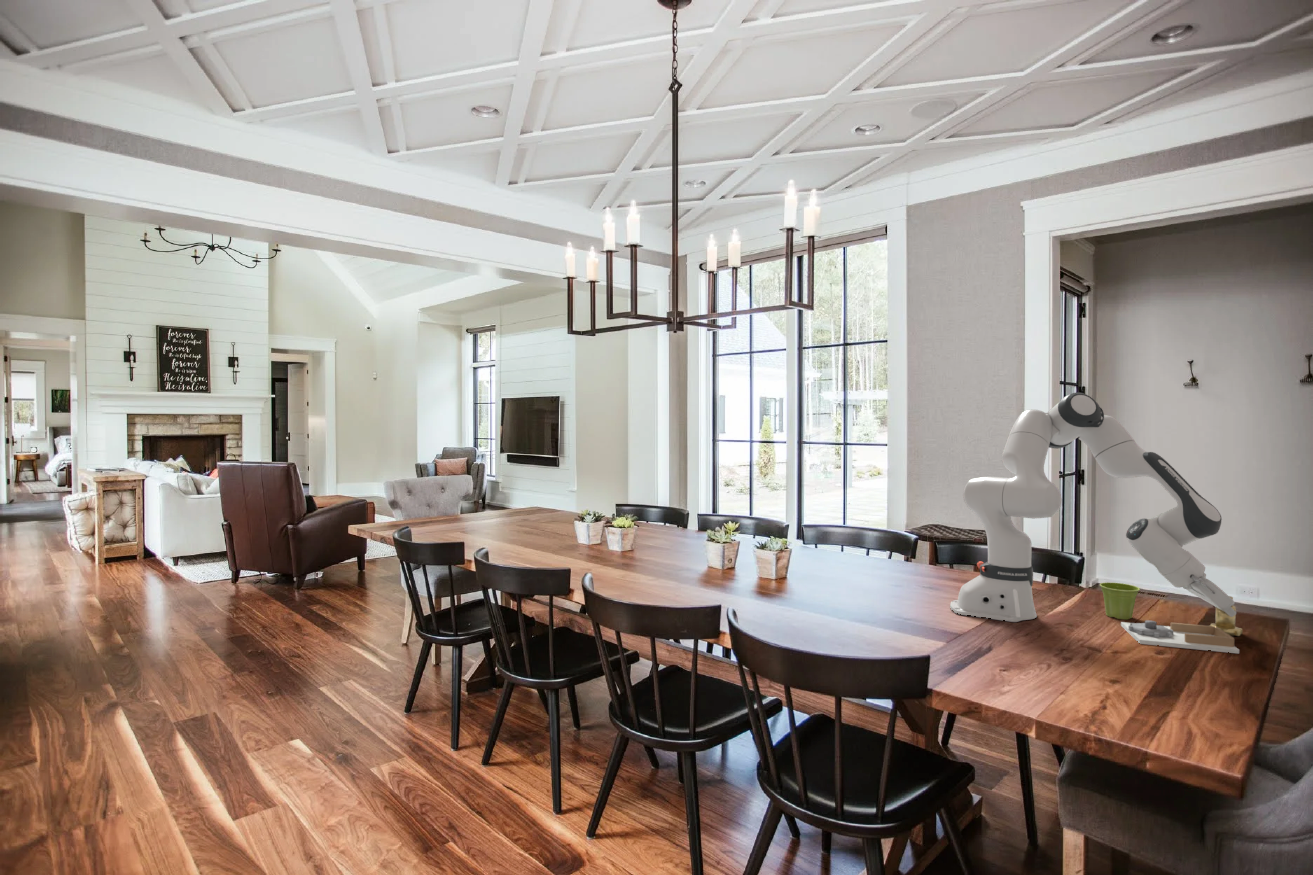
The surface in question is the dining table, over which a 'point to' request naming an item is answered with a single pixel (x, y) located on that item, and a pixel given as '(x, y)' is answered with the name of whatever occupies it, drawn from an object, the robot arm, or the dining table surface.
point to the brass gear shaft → (1226, 622)
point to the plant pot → (1119, 599)
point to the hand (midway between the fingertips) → (1228, 611)
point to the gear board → (1181, 636)
